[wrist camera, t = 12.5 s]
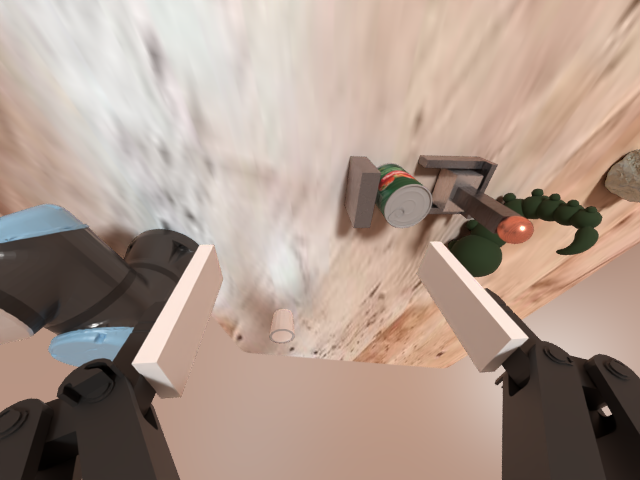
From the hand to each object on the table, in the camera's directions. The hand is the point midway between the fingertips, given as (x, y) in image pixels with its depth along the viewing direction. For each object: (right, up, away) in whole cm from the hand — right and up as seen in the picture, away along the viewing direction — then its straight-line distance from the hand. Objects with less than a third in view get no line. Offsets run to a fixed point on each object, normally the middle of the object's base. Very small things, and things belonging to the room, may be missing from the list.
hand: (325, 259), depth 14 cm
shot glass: (-11, -21, +53) cm, 58 cm away
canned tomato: (+13, +13, +31) cm, 36 cm away
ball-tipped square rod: (+26, +13, +32) cm, 43 cm away
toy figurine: (+37, +5, +40) cm, 54 cm away
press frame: (+18, +13, +32) cm, 39 cm away
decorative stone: (+66, +16, +35) cm, 77 cm away
